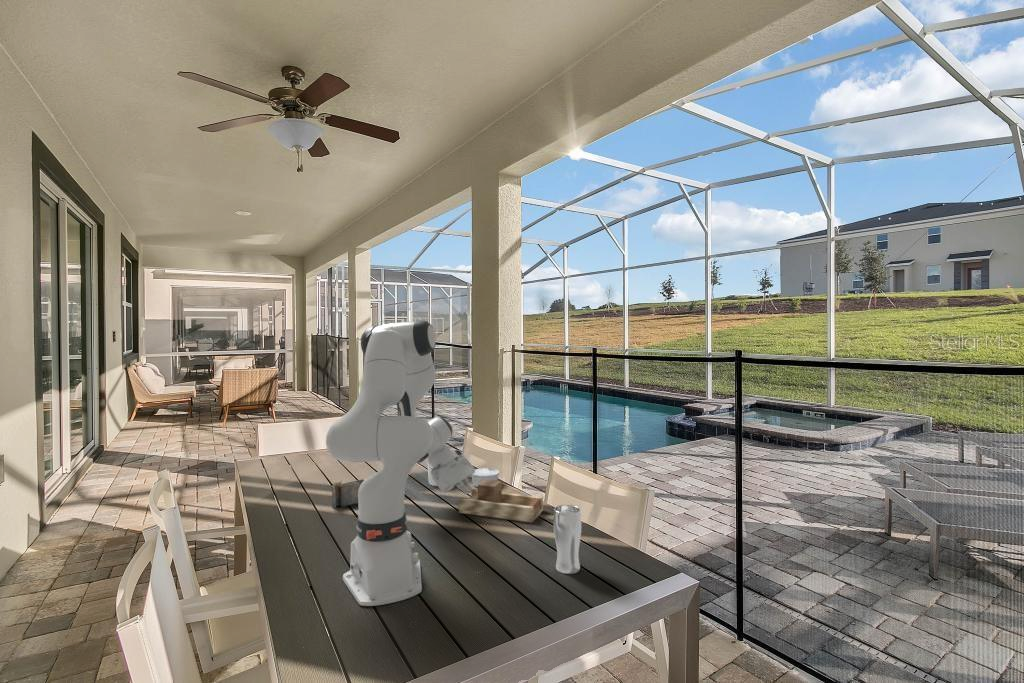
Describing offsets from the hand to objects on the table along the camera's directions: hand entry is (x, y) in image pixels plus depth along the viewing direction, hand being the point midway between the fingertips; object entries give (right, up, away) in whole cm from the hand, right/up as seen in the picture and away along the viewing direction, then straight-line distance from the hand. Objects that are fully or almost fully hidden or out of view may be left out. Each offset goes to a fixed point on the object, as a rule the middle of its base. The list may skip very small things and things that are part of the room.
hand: (469, 492), depth 164 cm
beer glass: (+29, -5, -44) cm, 53 cm away
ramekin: (+4, -5, +25) cm, 26 cm away
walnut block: (+7, -4, -3) cm, 9 cm away
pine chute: (+11, -5, -4) cm, 13 cm away
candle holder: (-15, -5, +28) cm, 32 cm away
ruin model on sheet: (-43, -6, +5) cm, 44 cm away
